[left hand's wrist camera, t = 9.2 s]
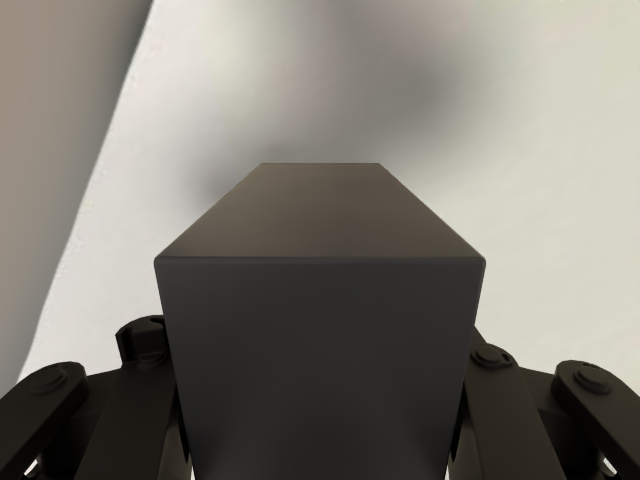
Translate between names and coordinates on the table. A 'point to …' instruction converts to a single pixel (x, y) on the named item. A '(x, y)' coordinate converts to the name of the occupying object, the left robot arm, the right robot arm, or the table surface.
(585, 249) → the table surface
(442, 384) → the bar
